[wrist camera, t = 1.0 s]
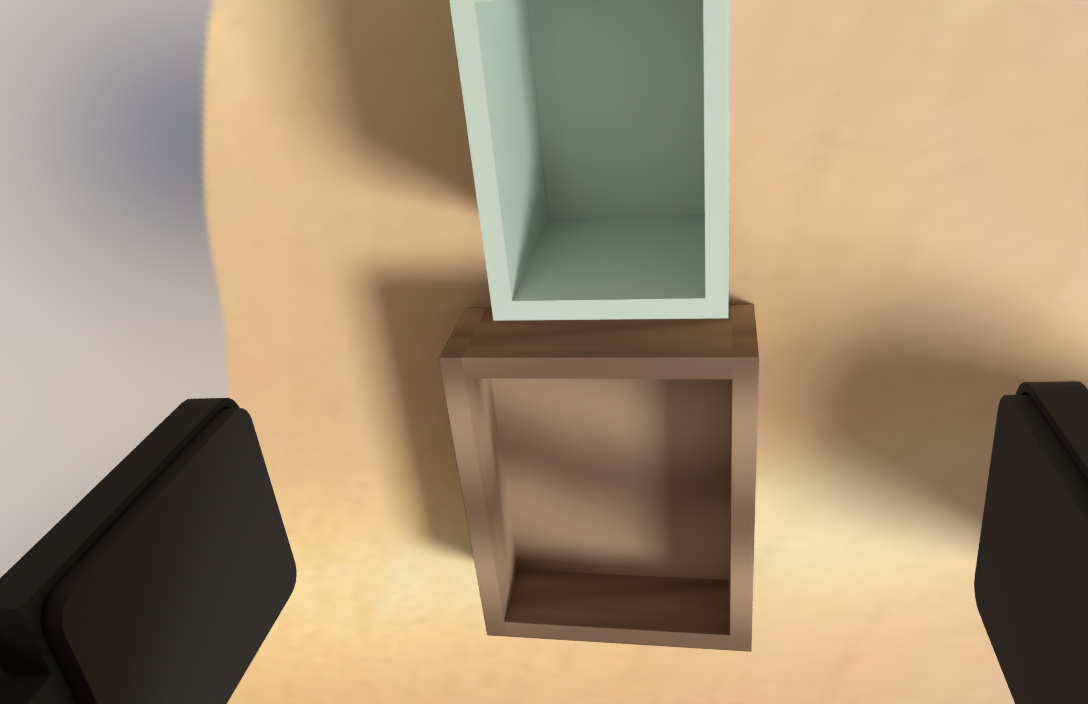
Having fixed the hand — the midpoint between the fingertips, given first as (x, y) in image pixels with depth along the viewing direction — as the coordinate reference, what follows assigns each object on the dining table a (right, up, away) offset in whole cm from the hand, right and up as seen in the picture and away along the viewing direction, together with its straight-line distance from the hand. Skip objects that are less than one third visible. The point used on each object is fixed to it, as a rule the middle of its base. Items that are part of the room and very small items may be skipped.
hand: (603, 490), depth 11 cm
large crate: (+2, -2, +24) cm, 24 cm away
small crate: (+2, +10, +17) cm, 20 cm away
